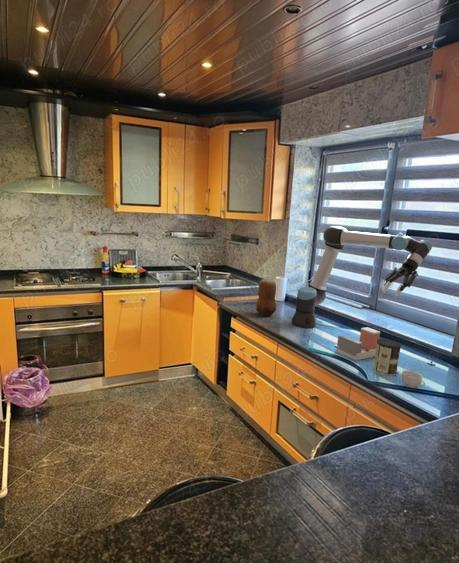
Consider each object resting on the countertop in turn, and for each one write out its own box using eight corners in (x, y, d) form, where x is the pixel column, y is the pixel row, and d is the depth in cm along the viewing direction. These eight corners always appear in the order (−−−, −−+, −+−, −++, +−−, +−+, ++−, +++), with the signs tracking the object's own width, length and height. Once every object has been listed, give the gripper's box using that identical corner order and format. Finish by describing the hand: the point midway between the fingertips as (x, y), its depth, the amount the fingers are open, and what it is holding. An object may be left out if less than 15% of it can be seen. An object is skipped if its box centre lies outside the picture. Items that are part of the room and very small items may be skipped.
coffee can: (393, 368, 179) (398, 340, 176) (398, 377, 169) (403, 347, 166) (371, 365, 181) (375, 337, 178) (374, 374, 171) (379, 344, 168)
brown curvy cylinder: (267, 312, 266) (270, 277, 262) (279, 317, 255) (282, 280, 251) (251, 313, 259) (254, 277, 255) (262, 318, 248) (266, 281, 244)
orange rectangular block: (365, 344, 205) (367, 327, 203) (377, 349, 198) (380, 331, 196) (358, 345, 202) (361, 328, 200) (371, 350, 195) (373, 332, 193)
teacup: (396, 383, 162) (398, 371, 161) (407, 380, 166) (409, 369, 165) (417, 393, 154) (419, 381, 153) (429, 390, 158) (431, 378, 157)
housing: (364, 345, 209) (366, 331, 207) (384, 354, 198) (387, 338, 196) (336, 351, 197) (338, 335, 196) (356, 360, 186) (358, 343, 185)
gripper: (431, 270, 202) (408, 301, 197) (398, 264, 219) (376, 293, 214) (427, 260, 199) (403, 292, 193) (393, 255, 216) (371, 284, 210)
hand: (389, 293), depth 203 cm, fingers open, 7 cm apart
